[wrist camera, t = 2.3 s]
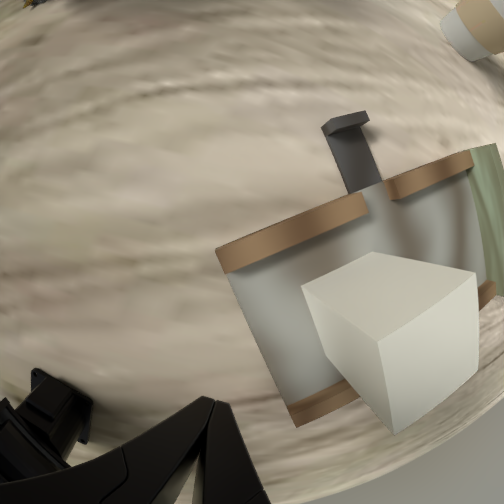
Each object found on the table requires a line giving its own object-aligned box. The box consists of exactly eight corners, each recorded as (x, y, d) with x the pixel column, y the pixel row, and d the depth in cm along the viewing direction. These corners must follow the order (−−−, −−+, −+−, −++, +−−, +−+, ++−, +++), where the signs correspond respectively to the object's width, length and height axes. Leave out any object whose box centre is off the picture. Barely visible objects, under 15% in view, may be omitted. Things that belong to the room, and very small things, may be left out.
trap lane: (307, 447, 21) (321, 479, 17) (185, 175, 18) (175, 159, 13) (491, 323, 23) (517, 333, 19) (443, 101, 20) (473, 87, 15)
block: (325, 355, 20) (393, 435, 10) (300, 285, 19) (377, 342, 9) (390, 320, 20) (477, 370, 10) (372, 251, 19) (475, 272, 10)
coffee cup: (487, 79, 21) (564, 50, 6) (444, 51, 20) (528, 2, 5) (470, 31, 20) (532, -5, 5) (425, 3, 19) (489, -49, 4)
